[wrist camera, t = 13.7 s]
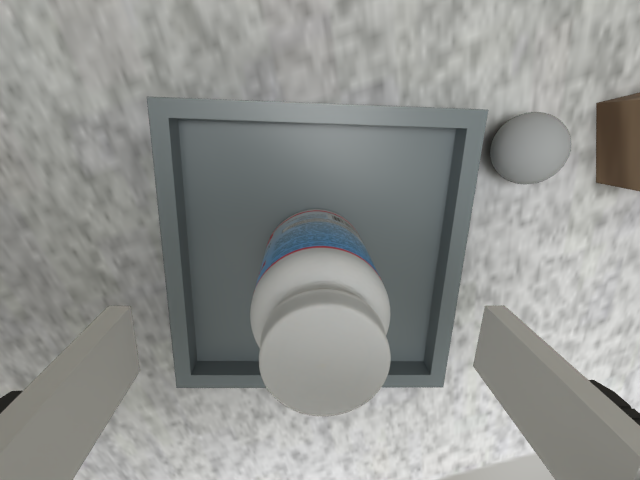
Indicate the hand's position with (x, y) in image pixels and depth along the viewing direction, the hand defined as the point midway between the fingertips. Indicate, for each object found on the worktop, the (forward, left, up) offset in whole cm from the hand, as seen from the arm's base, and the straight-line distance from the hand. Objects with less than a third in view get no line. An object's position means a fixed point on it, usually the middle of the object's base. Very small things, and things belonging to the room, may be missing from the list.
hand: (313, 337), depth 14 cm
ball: (+12, +7, -11) cm, 18 cm away
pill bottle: (0, 0, -10) cm, 10 cm away
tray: (0, 0, -11) cm, 11 cm away
